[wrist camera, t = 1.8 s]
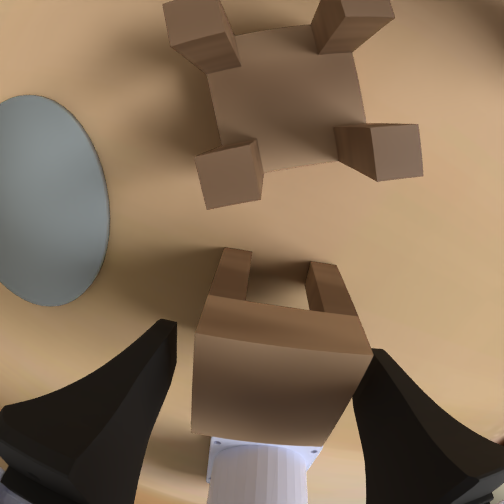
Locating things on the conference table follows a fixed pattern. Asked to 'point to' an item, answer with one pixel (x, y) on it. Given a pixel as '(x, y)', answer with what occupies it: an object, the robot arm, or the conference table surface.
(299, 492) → the robot arm
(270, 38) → the upturned twin stool
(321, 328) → the stool
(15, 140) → the mat
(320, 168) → the conference table surface
